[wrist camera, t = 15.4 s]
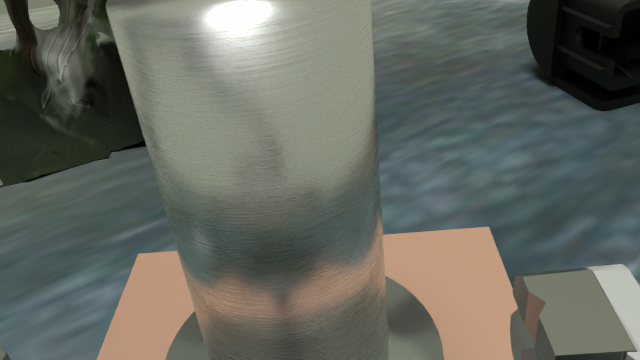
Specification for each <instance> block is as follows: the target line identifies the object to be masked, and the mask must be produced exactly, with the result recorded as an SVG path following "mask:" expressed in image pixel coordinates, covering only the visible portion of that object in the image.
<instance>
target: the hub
mask: <svg viewBox="0 0 640 360" xmlns="http://www.w3.org/2000/svg"><path fill="white" fill-rule="evenodd" d="M106 11H107V14H108V17H109V21H110V24H111V28H112V31H113V34H114V38H115V41H116V45H117V48H118V51H119V55H120V58H121V62H122V65H123V68H124V72H125V75H126V79H127V82H128V85H129V89H130V92H131V95H132V99H133V102H134V106H135V109H136V112H137V116H138V119H139V123H140V126H141V129H142V133H143V136H144V140H145V143H146V146H147V150H148V153H149V157H150V160H151V163H152V167H153V170H154V174H155V177H156V180H157V184H158V187H159V191H160V194H161V197H162V201H163V204H164V208H165V211H166V214H167V218H168V221H169V225H170V228H171V231H172V235H173V238H174V242H175V245H176V248H177V252H178V255H179V259H180V262H181V265H182V269H183V272H184V275H185V279H186V282H187V286H188V289H189V292H190V296H191V299H192V303H193V306H194V309H195V311H194V312H193V313H192V314H191V315H190V316H189V318H188V319H187V320H186V321H185V322H184V324H183V325H182V327H181V328H180V330H179V331H178V332H177V334H176V336H175V338H174V340H173V342H172V344H171V345H170V347H169V350H168V353H167V356H166V359H165V360H444V355H443V347H442V342H441V339H440V335H439V332H438V329H437V327H436V325H435V323H434V321H433V319H432V317H431V315H430V314H429V313H428V311H427V310H426V308H425V307H424V305H423V304H422V303H421V302H420V301H419V300H418V299H417V298H416V297H415V296H414V295H413V294H412V293H411V292H410V291H408V290H407V289H406V288H405V287H404V286H402V285H401V284H399V283H397V282H396V281H394V280H393V279H391V278H389V277H387V276H385V264H384V246H383V227H382V208H381V190H380V171H379V152H378V134H377V115H376V96H375V77H374V59H373V40H372V21H371V3H370V0H107V3H106Z"/></svg>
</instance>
